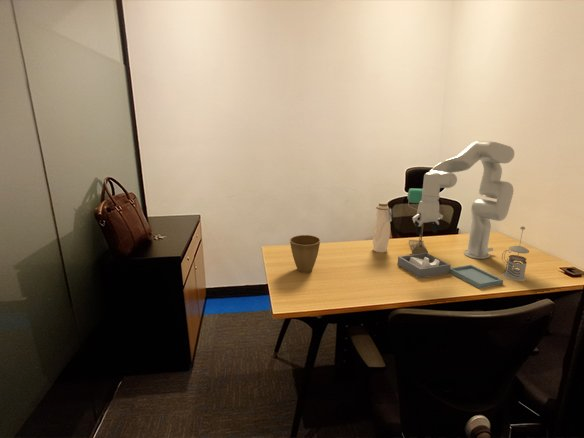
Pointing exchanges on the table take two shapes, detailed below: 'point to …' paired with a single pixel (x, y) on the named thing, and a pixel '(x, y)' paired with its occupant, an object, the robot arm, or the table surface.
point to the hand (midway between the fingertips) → (426, 232)
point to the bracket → (423, 262)
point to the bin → (423, 272)
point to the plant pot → (305, 251)
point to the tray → (476, 276)
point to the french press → (516, 263)
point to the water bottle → (382, 228)
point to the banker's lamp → (419, 245)
